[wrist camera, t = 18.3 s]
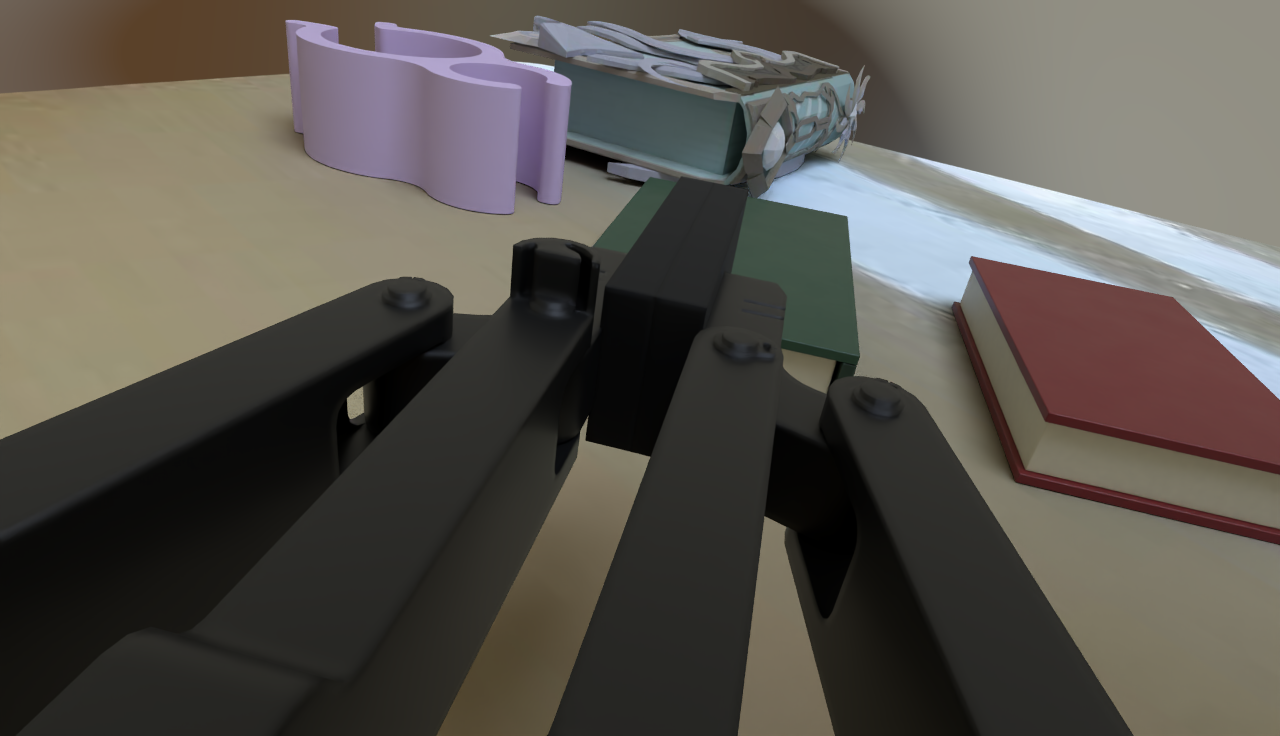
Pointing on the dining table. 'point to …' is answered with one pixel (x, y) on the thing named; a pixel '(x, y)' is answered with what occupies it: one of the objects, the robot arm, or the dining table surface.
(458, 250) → the dining table surface
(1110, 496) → the burgundy book
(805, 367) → the green book
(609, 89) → the ornate book
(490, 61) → the clip
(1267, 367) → the dining table surface
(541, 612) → the dining table surface
